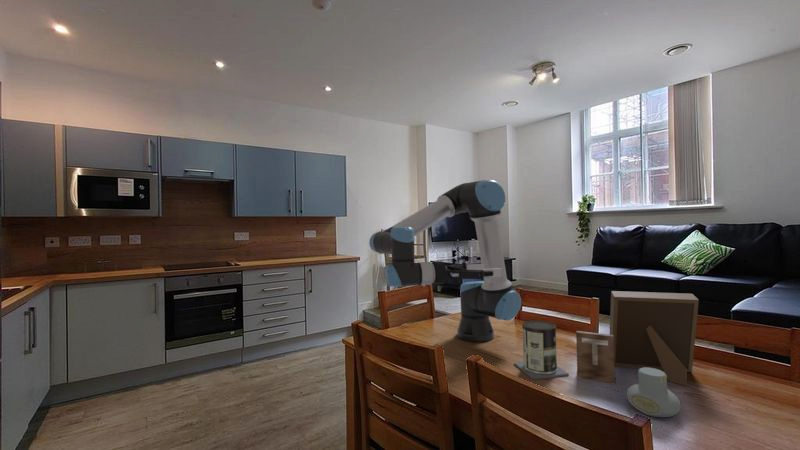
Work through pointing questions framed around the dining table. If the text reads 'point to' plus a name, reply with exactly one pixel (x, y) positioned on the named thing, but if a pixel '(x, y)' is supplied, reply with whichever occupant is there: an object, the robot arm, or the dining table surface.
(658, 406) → the air freshener
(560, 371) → the grey mat
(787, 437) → the dining table surface
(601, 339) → the letter tile
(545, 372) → the coffee can
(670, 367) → the photo frame
